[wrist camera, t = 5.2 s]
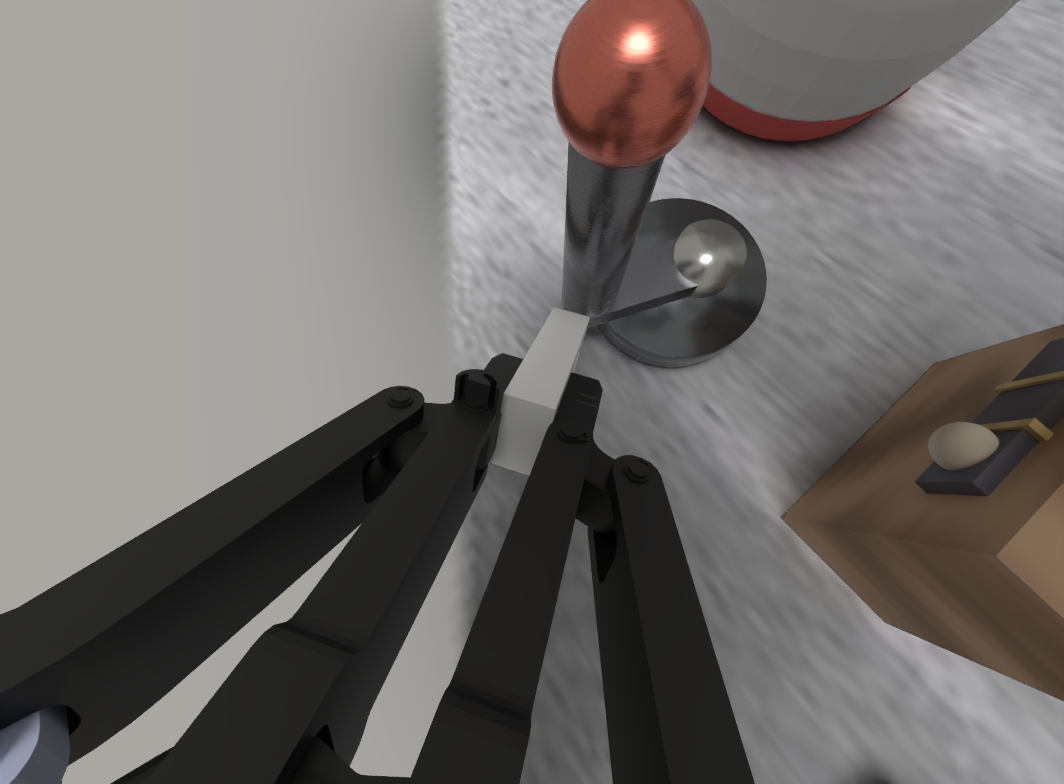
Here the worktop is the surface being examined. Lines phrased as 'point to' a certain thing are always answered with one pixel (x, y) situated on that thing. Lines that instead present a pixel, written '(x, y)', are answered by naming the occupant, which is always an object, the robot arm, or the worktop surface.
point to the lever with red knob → (645, 188)
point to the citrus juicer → (828, 57)
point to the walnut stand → (960, 510)
